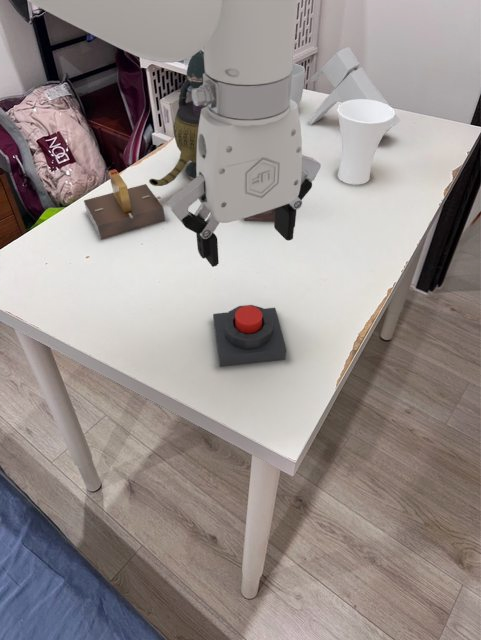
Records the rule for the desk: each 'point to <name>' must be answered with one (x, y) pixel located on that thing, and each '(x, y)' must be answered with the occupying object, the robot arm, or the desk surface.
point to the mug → (297, 83)
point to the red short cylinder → (248, 319)
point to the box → (263, 216)
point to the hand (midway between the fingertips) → (247, 246)
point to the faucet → (347, 84)
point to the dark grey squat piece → (248, 339)
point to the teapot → (187, 123)
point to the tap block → (113, 218)
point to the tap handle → (120, 190)
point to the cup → (361, 137)
